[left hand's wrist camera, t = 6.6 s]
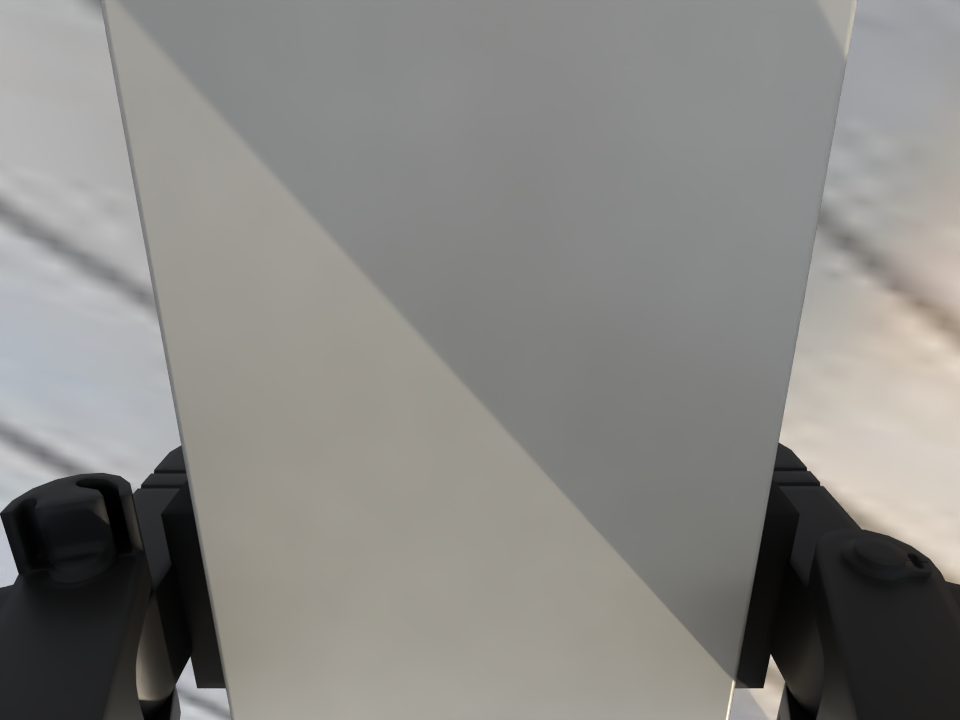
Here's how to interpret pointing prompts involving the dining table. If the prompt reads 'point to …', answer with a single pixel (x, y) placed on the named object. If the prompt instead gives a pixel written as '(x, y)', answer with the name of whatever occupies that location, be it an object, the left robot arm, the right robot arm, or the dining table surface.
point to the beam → (479, 335)
